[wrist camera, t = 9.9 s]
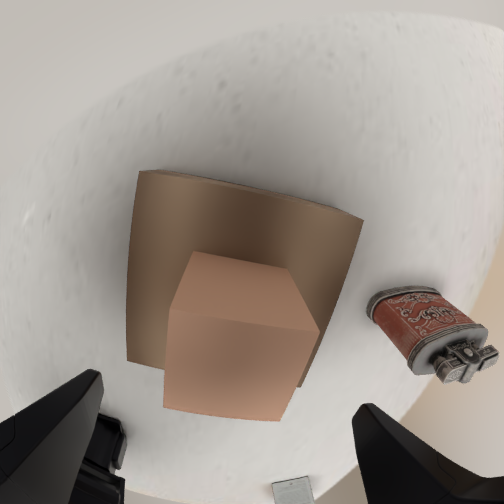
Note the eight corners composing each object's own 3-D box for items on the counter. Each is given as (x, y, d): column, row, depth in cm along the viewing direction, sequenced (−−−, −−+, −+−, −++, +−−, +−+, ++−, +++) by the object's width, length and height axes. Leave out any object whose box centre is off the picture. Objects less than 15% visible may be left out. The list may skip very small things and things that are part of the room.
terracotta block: (181, 330, 15) (163, 407, 10) (193, 250, 14) (169, 308, 8) (264, 344, 16) (279, 421, 10) (287, 268, 15) (320, 332, 9)
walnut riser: (141, 329, 20) (127, 360, 16) (159, 169, 16) (139, 171, 12) (290, 354, 21) (300, 387, 17) (337, 208, 18) (363, 220, 14)
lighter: (362, 324, 21) (422, 408, 11) (371, 287, 20) (446, 364, 10) (431, 316, 22) (494, 376, 12) (441, 283, 21) (514, 338, 11)
